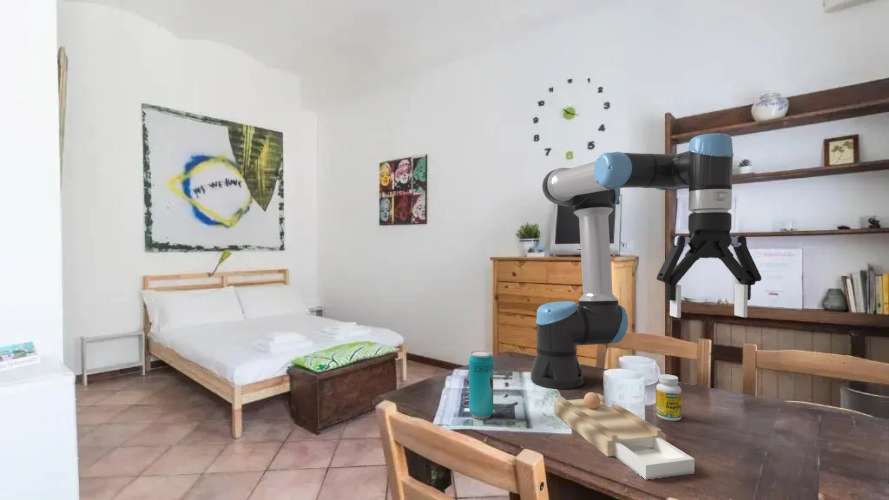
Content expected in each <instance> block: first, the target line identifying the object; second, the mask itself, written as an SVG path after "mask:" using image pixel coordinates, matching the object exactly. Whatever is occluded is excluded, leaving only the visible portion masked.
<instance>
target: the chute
mask: <svg viewBox="0 0 889 500" xmlns="http://www.w3.org/2000/svg"><path fill="white" fill-rule="evenodd" d="M595 393H596V394H597V395H598V396H599V398H600V405H599V406H598V407H597V408H594V409H592V408H589V407H587V406H586V405H585V403H584V398H577V399H576V398H575V399H566V398H564V397H563V396H557V400H554V401H553V403H554V404H553V414H554V415H555V416H556V417H557V418H559V419H560V420H561V419H562V420H561V421H562V422H564V423H565V422H566V423H567V424H566V423H565V424H566V425H567V426H569V427H570V428H571V429H573V431H575V432H576V433H577V434H579V435H580V436H581V437H582V438H584V439H585V440H586V441H587V442H588V443H589V444H591V445H592V446H593V447H595V448H596V449H597V450H599V452H601V453H602V454H604V456H606V457H615V456H614V443H615V442H620V443H621V442H623V443H624V441H629V442H628V443H627V445H628V444H629V443H630V444H631V442H630V441H632V440H636V444H637V443H639V442H637V440H639V441H640V440H642V439H643V440H648V441H649V440H655V439H653V438H657V437H660V438H661V439H663V440H664V441H666V442H667V439H666V438H667V437H666V436H667V435H666V433H664V432H663V431H662V429H660V428H659V427H657V426H655V425H654V424H652V423H650V422H648V421H647V420H645V419H643V418H642V417H640V416H638V415H636V414H635V413H633V412H632V411H630V410H628V409H626V408H625V407H623V406H621V405H619V404H618V405H619V406H618V405H614V404H612V407H608V406H606V405H605V400H604V397H605V396H604V395H602V394H600V393H598V392H595ZM648 438H650V439H648ZM651 438H652V439H651ZM648 441H646V442H648ZM646 442H645V441H644V442H643V443H645V444H647V443H646ZM650 442H651V441H650ZM652 442H653V441H652ZM623 443H621V444H623ZM632 443H634V441H633V442H632ZM625 444H626V442H625ZM630 444H629V445H628V446H630ZM634 444H635V443H634ZM634 444H632V446H633V445H634ZM641 444H642V443H640V444H639V445H641ZM649 444H650V443H649ZM649 444H648V445H649ZM653 445H654V444H653ZM628 446H627V447H628ZM635 446H636V445H635ZM644 446H645V448H646V446H647V445H644ZM644 446H643V448H644ZM654 446H655V445H654ZM633 447H634V446H633ZM636 447H637V448H639V447H638V444H637V446H636ZM636 447H635V448H636ZM640 447H641V446H640ZM628 448H629V449H630V447H628ZM631 448H632V447H631ZM639 449H640V450H642V448H639ZM639 449H637V450H638V451H639ZM648 449H654V448H648ZM630 450H631V451H632V450H633V451H634V450H635V449H630ZM637 450H635V451H637ZM643 450H644V449H643Z"/></svg>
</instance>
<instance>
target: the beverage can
mask: <svg viewBox="0 0 889 500" xmlns="http://www.w3.org/2000/svg"><path fill="white" fill-rule="evenodd" d="M469 354H470V356H469V359H468V408H469V411H470V414H471V416H472V418H474V419H475V420H487V419H490V418H491V416H492V414H493V411H494V358H493V353H492V352H491V351H487V350H474V351H471V352H470V353H469Z"/></svg>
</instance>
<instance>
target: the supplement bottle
mask: <svg viewBox="0 0 889 500" xmlns="http://www.w3.org/2000/svg"><path fill="white" fill-rule="evenodd" d="M658 377H659V378H658V381H659V383H658V384H657V385H656V386H655V387H656V388H655V392H656V393H655V396H656V397H655V399H656V401H655V402H656V405H655V406H656V408H655V409H656V411H655V413H656V416H657V417H658V418H660V419H663V420H666V421H673V422H675V421H676V422H677V421H680V420H681V419H682V416H683V415H682V407H683V406H682V404H683V403H682V398H683V397H682V387H680V386H679V385H678V384H679V377H678V376H676V375H672V374H667V373H663V374H659V375H658Z"/></svg>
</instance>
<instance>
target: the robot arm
mask: <svg viewBox="0 0 889 500" xmlns="http://www.w3.org/2000/svg"><path fill="white" fill-rule="evenodd" d="M688 144H689V145H688V150H687V151H684V152H683V151H682V152H679V153H672V154H667V153H637V152H636V153H635V152H632V153H631V152H622V151H613V152H604V153H602V154H600V155H599V156H598V158H597V159H596V160H595V161H592V162H588V163H584V164H582V165H578V166H576V167H560V168H559V167H558V168H556V169H553V170H551V171H549V172H548V173H547V174H546V175H545V177H544V178H543V180H542V185H541V187H542V193H543V194H544V196H545V198H546V199H547V200H548V201H549V202H551V203H552V204H555V205H557V206H562V207H563V206H564V207H573V214H574V215H575V216H576V217H577V218H578V222H579V223H578V224H579V239H580V241H579V242H580V243H579V244H580V260H581V261H580V262H581V280H582V295H581V296H580V298H578V301H577V303H576V302H575V301H572V300H571V301H570V300H569V301H568V300H565V301H561V300H560V301H551V302H548V303H544V304H541V305H540V306H539V307H538V308H537V310H536V320H535V323H536V355H535V358H534V361H533V363H532V364H533V365H532V367H531V371H530V381H531V380H532V381H533V382H532V381H531V382H532V383H534V384H535V383H536V384H535V385H537V384H539V386H540V385H542V386H541V387H544V386H545V387H544V388H549V387H551V388H550V389H560V390H562V389H563V390H564V389H566V390H567V389H568V390H569V389H575V388H578V387H581V386H582V385H583V384H584V375H583V371H582V369H581V365H580V362H579V359H578V356H577V355H578V352H577V349H578V348H577V347H578V346H590V345H591V346H592V345H593V346H594V345H603V346H606V345H607V346H608V345H611V344H613V345H614V344H618V343H620V342H621V341H623V339H624V338H625V336H626V334H627V332H628V329H629V315H628V313H626V309H625V308H624V306H622V305H620V304H619V303H620V302H619V299H618V298H617V297H616V295H614V293H613V281H612V280H613V278H612V261H611V244H610V225H609V215H610V214H611V213H612V212H613V211H614V206H616V204H618V202H619V200H620V196H621V189H623V188H625V189H628V188H633V189H634V188H643V189H656V190H659V191H673V190H676V189H681V188H686V187H688V204H687V205H688V207H687V210H688V211H689V212H691V213H689V214H688V217H687V218H688V219H687V221H688V222H687V223H688V224H687V225H688V227H687V230H688V236H684V235H674V236H673V237H672V243H671V248H670V250H669V251H668V254H667V256H666V257H665V260H664V262H663V263H662V266H661V268H660V270H659V271H658V273H657V276H656V280H657V281H658V282H659V281H660V282H662V283H664V284H666V285H665V287H666V291H665V292H666V296H665V297H666V300H668V301H669V316H671V317H674V318H677V319H678V318H681V317H682V312H681V311H682V285H680V284H678V283H679V282H680V281H681V279H682V278H683V277H684V276H685V275H686V274H687V272H688V271H689V270H690V269H691V268H692V266H693V265H694V264H695V263H696V262H697V261H699V260H700V259H719V260H721V262H722V263H723V264H724V266H725V267H726V268H727V269H728V270H729V272H730V273H731V274H732V275H733V277H735V279H736V280H737V282H738V283H734V307H733V308H734V309H733V314H734V316H736V317H741V318H748V301H750V300H751V298H752V286H753V285H756V283H757V282H760V281H762V275H761V273H760V271H759V269H758V267H757V265H756V263H755V260H754V258H753V257H752V254H751V252H750V250H749V248H748V242H747V236H745V235H734V236H731V234H730V233H731V231H732V219H733V218H732V217H733V216H732V215H733V214H732V213H731V212H729V211H730V210H731V209H732V202H733V195H732V194H733V191H732V189H733V158H734V156H735V155H734V151H733V150H734V149H733V146H734V145H733V138H732V136H731V135H729V134H727V133H723V132H721V133H719V132H717V133H705V134H701V135H700V134H699V135H696V136H694V137H692V138H691V139H690V140H689V143H688ZM687 246H688V247H689V249H688V250H687V251H686V253H685V254H684V257H683V258H682V259H681V260H680V257H681V256H682V254H683V252H684V250H685V247H687ZM730 246H731V247H732V248H733V251H734V253H735V255H736V258H737V259H738V261H737V259H736V258H735V257H734V253H732V251H731V249H729V247H730ZM678 262H679V263H678ZM577 304H578V305H577Z"/></svg>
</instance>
